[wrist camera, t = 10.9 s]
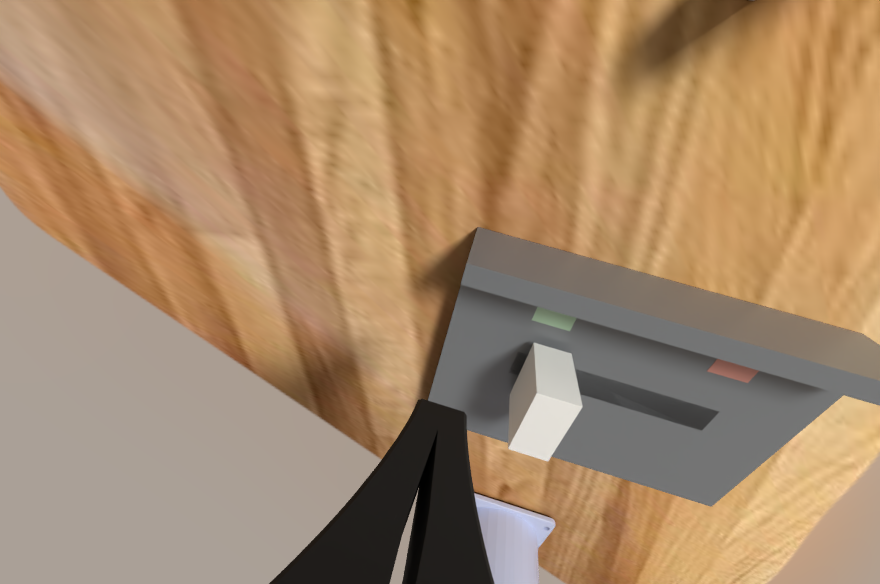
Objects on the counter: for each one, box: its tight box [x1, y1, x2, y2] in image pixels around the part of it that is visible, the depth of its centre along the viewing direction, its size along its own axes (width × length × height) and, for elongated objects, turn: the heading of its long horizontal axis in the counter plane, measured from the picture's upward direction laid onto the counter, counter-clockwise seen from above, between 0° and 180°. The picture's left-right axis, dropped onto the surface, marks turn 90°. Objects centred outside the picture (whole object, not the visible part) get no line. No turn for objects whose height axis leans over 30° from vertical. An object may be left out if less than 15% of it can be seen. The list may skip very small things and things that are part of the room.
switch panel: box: [428, 227, 880, 506], centre depth 19 cm, size 13×19×4 cm
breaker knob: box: [508, 343, 583, 461], centre depth 17 cm, size 4×2×4 cm, turn 168°
